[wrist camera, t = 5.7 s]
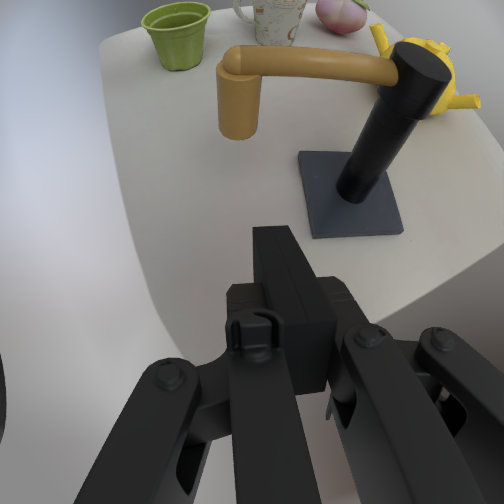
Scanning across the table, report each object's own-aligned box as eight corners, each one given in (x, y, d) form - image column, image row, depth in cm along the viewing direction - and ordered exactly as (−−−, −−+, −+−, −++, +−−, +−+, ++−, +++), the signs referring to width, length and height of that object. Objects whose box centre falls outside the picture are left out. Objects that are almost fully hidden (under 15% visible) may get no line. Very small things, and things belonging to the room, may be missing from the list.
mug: (286, 57, 41) (294, 3, 31) (217, 36, 42) (216, -14, 33) (307, 38, 43) (316, -9, 34) (244, 19, 45) (246, -26, 36)
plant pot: (177, 86, 37) (169, 35, 29) (139, 66, 39) (128, 21, 31) (225, 57, 40) (225, 10, 32) (185, 40, 42) (180, -3, 34)
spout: (219, 150, 21) (214, 57, 13) (218, 107, 22) (215, 21, 15) (416, 153, 22) (462, 87, 15) (398, 115, 23) (434, 49, 16)
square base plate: (312, 238, 30) (362, 148, 17) (297, 156, 34) (324, 54, 20) (400, 234, 31) (476, 160, 18) (377, 158, 34) (426, 72, 21)
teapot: (324, 75, 40) (341, 13, 29) (384, 50, 44) (402, 4, 34) (433, 164, 35) (476, 110, 24) (471, 120, 39) (502, 78, 29)
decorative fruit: (363, 33, 46) (376, -7, 37) (356, 49, 43) (371, 4, 34) (318, 17, 47) (326, -23, 38) (306, 31, 44) (314, -14, 35)
